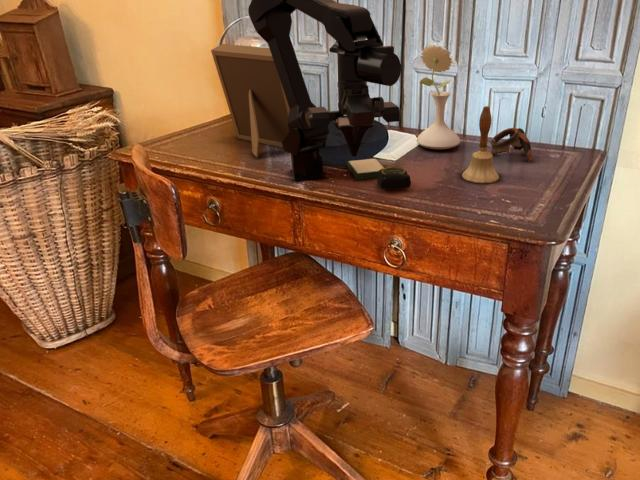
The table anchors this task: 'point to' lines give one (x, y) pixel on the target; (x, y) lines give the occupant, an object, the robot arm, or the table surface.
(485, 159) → the hand bell
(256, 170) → the table surface
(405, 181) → the tape measure
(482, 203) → the table surface
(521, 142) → the brown leather strap
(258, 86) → the photo frame
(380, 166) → the tan flat block
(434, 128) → the flower in vase
